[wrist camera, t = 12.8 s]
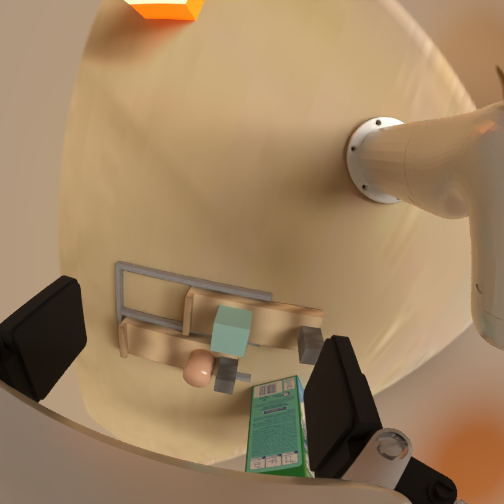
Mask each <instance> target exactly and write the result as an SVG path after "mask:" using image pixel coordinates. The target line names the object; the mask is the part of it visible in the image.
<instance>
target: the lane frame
mask: <svg viewBox="0 0 504 504" xmlns="http://www.w3.org/2000/svg"><path fill="white" fill-rule="evenodd" d="M123 270H127V271H131V272H135V273H139V274H143V275H147V276H152V277H156V278H160V279H164V280H169V281H173V282H178V283H182V284H187V285H191V286H196V287H201V288H205V289H210V290H215V291H220V292H225V293H230V294H235V295H240V296H245V297H250V298H255V299H260V300H266V301H271V299H272V293H268V292H262V291H257V290H252V289H247V288H242V287H237V286H232V285H227V284H222V283H217V282H212V281H207V280H202V279H198V278H193V277H188V276H184V275H179V274H175V273H170V272H166V271H161V270H157V269H152V268H148V267H144V266H139V265H135V264H131V263H126V262H121V261H118V262H117V263H116V305H117V322H118V326H119V325H120V324H121V323H122V321H123V320H124V315H125V316H129V317H132V318H136V319H139V320H143V321H147V322H151V323H154V324H158V325H162V326H166V327H170V328H174V329H178V330H182V331H183V322H178V321H174V320H170V319H166V318H162V317H158V316H154V315H150V314H147V313H143V312H139V311H135V310H132V309H128V308H125V307H123ZM190 332H191V333H195V334H200V335H204V336H209V337H212V335H209V334H204V333H200V332H195V331H190ZM118 336H119V335H118ZM247 344H249V345H254V346H260V344H255V343H249V342H247ZM119 347H120V346H119ZM250 379H251V375H250V374H244V373H238V372H236V380H242V381H247V382H250Z"/></svg>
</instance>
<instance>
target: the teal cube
mask: <svg viewBox="0 0 504 504" xmlns="http://www.w3.org/2000/svg"><path fill="white" fill-rule="evenodd" d="M251 319H252V311H249V310H243V309H238V308H233V307H228V306H223V305H219V308H218V311H217V315H216V318H215V321H214V326H213V333H212V340H211V347H210V350H211V351H216V352H220V353H225V354H230V355H236V356H241V357H244V355H245V351H246V346H247V342H248V338H249V334H250V328H251Z"/></svg>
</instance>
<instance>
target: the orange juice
mask: <svg viewBox="0 0 504 504" xmlns="http://www.w3.org/2000/svg"><path fill="white" fill-rule="evenodd" d="M125 1H126V2H127V3H128V4H130V5H131V6H132V7H133V8H134V9H135V10H137V11H138V12H139V13H140V14H141V15H142V16H143V17H144V18H157V19H182V20H196V19H197V16H198V14H199V11H200V9H201V7H202V4H203V2H204V0H125Z"/></svg>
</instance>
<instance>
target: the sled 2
mask: <svg viewBox="0 0 504 504" xmlns="http://www.w3.org/2000/svg"><path fill="white" fill-rule="evenodd" d="M219 305H223V306H228V307H233V308H238V309H243V310H249V311H252V319H251V328H250V334H249V338H248V342H249V343H255V344H260V345H266V346H272V347H278V348H285V349H291V350H298V352H299V361H300V363H302V364H310V365H315V364H316V362H317V360H318V357H319V355H320V352H321V350H322V347H323V345H324V341H323V337H322V333H321V329H320V328H321V325H322V323H323V320H324V316H323V313H322V310H318V309H312V308H306V307H300V306H294V305H288V304H283V303H277V302H272V301H266V300H260V299H255V298H250V297H245V296H240V295H235V294H230V293H225V292H220V291H215V290H210V289H205V288H201V287H196V286H191V288H190V290H189V292H188V293H187V295H186V297H185V306H184V318H183V331H182V335H186V336H189V333H190V331H195V332H200V333H204V334H209V335H212V333H213V326H214V321H215V318H216V315H217V311H218V308H219Z"/></svg>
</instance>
